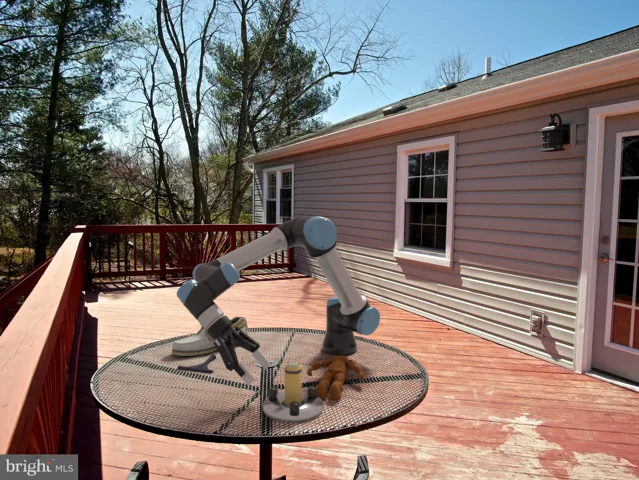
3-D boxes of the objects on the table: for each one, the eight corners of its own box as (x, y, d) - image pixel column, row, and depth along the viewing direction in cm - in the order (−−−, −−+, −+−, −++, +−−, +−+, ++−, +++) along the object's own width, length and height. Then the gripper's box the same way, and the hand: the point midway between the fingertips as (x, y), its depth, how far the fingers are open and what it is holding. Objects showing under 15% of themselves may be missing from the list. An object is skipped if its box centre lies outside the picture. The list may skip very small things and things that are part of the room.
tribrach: (319, 394, 139) (319, 381, 138) (326, 421, 121) (326, 405, 121) (263, 396, 137) (263, 382, 136) (262, 423, 119) (262, 407, 119)
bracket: (230, 362, 170) (230, 355, 170) (211, 375, 156) (211, 367, 156) (199, 358, 174) (198, 351, 174) (177, 371, 160) (177, 363, 160)
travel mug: (301, 398, 132) (301, 360, 131) (302, 406, 126) (302, 366, 126) (284, 399, 131) (284, 360, 130) (284, 406, 126) (284, 367, 125)
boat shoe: (164, 354, 177) (164, 325, 177) (236, 337, 203) (236, 312, 202) (181, 362, 168) (180, 331, 167) (253, 343, 194) (253, 316, 193)
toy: (359, 406, 133) (368, 369, 162) (359, 385, 133) (368, 351, 162) (297, 400, 137) (317, 364, 167) (297, 379, 137) (317, 347, 166)
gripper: (225, 321, 146) (266, 368, 143) (186, 341, 122) (235, 398, 119) (240, 306, 145) (281, 354, 142) (203, 324, 120) (253, 382, 118)
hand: (260, 374), depth 131 cm, fingers open, 13 cm apart
